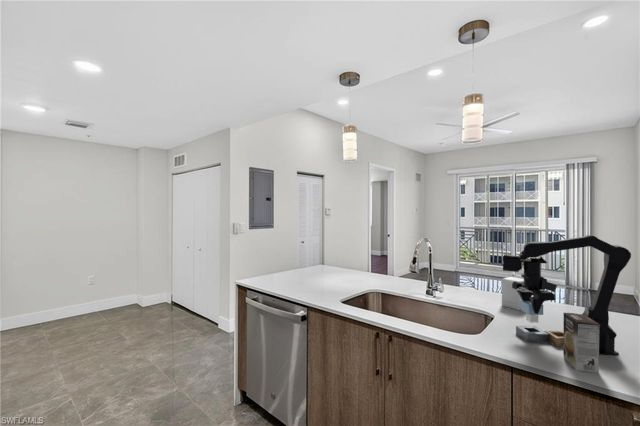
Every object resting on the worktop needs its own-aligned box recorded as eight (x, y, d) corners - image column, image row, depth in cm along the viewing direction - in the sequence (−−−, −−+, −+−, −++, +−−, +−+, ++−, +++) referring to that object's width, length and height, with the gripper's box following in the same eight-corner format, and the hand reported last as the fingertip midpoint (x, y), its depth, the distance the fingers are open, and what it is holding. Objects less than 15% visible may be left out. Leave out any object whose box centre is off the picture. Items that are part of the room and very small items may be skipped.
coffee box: (562, 357, 107) (562, 312, 107) (584, 359, 106) (584, 313, 105) (575, 370, 99) (576, 321, 98) (599, 373, 97) (600, 323, 97)
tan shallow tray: (575, 347, 115) (575, 338, 115) (556, 346, 116) (556, 338, 115) (562, 339, 122) (562, 331, 122) (544, 338, 123) (544, 330, 122)
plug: (543, 323, 121) (543, 304, 120) (528, 323, 121) (528, 304, 121) (535, 319, 125) (535, 301, 125) (521, 318, 126) (521, 300, 126)
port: (548, 342, 119) (548, 334, 119) (527, 342, 120) (527, 333, 120) (535, 334, 127) (535, 326, 127) (516, 333, 128) (516, 325, 128)
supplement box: (519, 310, 156) (519, 281, 156) (501, 306, 163) (501, 278, 163) (527, 307, 161) (527, 279, 161) (509, 303, 168) (509, 276, 168)
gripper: (570, 278, 113) (570, 320, 113) (538, 268, 132) (538, 304, 132) (539, 278, 114) (539, 319, 114) (511, 268, 132) (511, 304, 133)
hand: (532, 311), depth 123 cm, fingers closed on plug, 5 cm apart
